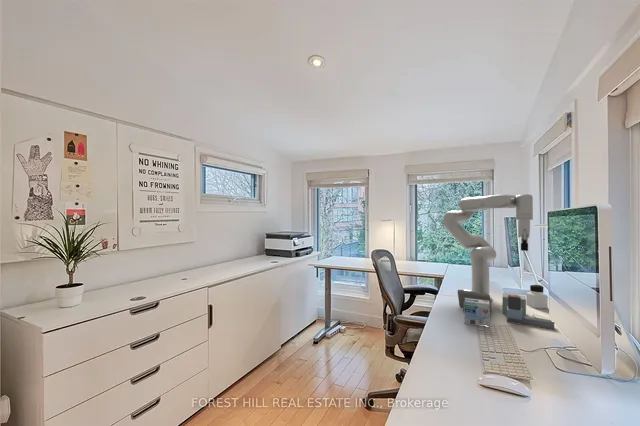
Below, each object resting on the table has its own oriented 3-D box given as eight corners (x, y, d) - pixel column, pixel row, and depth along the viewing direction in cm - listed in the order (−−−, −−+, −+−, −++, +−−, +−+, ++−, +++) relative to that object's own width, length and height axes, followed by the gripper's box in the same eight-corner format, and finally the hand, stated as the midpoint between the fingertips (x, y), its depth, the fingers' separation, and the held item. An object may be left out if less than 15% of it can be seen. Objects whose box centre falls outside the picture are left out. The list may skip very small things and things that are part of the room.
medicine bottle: (547, 308, 163) (547, 286, 163) (534, 308, 163) (534, 286, 164) (538, 304, 170) (538, 283, 171) (526, 304, 171) (526, 283, 171)
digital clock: (493, 313, 155) (493, 293, 155) (485, 317, 149) (485, 296, 149) (463, 305, 168) (463, 287, 168) (454, 308, 162) (454, 289, 163)
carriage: (506, 317, 141) (506, 297, 141) (507, 313, 147) (507, 293, 147) (522, 320, 138) (522, 299, 138) (521, 316, 144) (521, 295, 144)
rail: (506, 321, 143) (506, 315, 143) (507, 319, 146) (506, 313, 146) (554, 329, 133) (554, 323, 133) (553, 326, 136) (553, 320, 136)
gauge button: (509, 304, 154) (509, 295, 154) (509, 302, 157) (509, 293, 157) (518, 305, 152) (518, 296, 152) (518, 303, 155) (517, 294, 155)
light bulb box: (464, 323, 140) (464, 300, 140) (464, 319, 146) (464, 297, 146) (490, 327, 135) (490, 304, 135) (489, 323, 141) (489, 300, 141)
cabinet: (502, 314, 154) (502, 296, 154) (502, 309, 160) (502, 293, 160) (526, 317, 148) (525, 299, 148) (525, 313, 155) (525, 296, 155)
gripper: (515, 216, 170) (515, 248, 170) (516, 217, 158) (516, 251, 158) (531, 217, 166) (532, 249, 166) (533, 217, 154) (533, 252, 154)
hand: (524, 250), depth 162 cm, fingers closed
